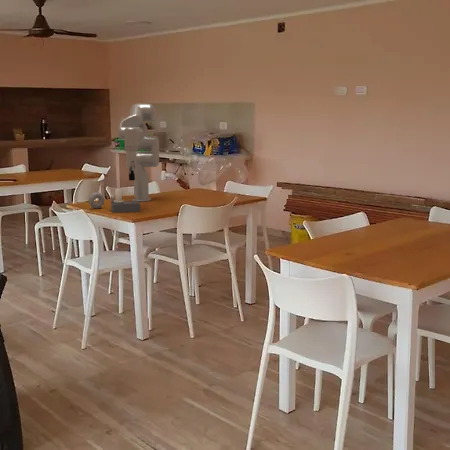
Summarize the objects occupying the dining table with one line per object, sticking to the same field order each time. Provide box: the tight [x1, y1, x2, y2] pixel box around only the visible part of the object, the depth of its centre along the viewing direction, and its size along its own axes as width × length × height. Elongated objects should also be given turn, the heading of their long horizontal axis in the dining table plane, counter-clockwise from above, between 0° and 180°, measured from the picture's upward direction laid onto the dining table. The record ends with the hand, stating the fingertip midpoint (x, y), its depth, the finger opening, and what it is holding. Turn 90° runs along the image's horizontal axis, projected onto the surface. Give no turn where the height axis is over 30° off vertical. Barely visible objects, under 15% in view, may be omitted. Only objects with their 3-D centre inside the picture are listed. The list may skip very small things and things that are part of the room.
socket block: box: [110, 199, 141, 214], centre depth 366 cm, size 11×16×6 cm
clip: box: [110, 194, 135, 201], centre depth 368 cm, size 2×15×2 cm, turn 106°
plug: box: [114, 188, 125, 204], centre depth 364 cm, size 6×6×13 cm
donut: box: [88, 191, 105, 209], centre depth 372 cm, size 10×3×10 cm, turn 128°
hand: (131, 180), depth 361 cm, fingers closed
